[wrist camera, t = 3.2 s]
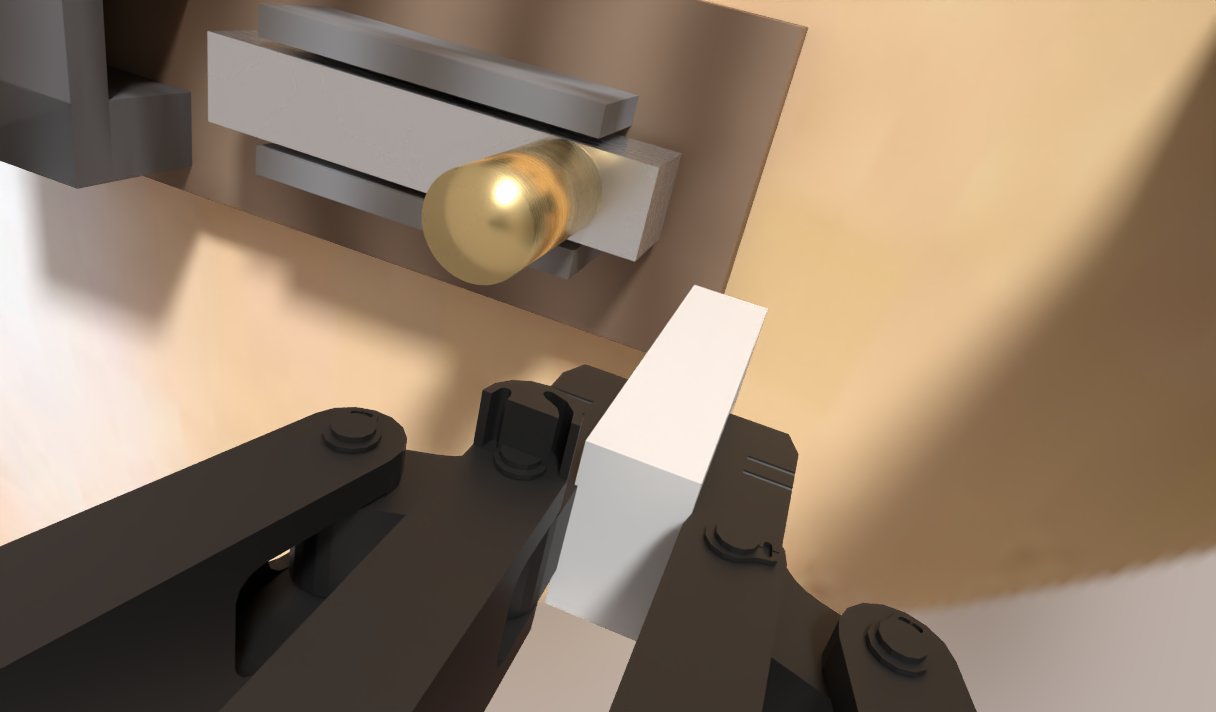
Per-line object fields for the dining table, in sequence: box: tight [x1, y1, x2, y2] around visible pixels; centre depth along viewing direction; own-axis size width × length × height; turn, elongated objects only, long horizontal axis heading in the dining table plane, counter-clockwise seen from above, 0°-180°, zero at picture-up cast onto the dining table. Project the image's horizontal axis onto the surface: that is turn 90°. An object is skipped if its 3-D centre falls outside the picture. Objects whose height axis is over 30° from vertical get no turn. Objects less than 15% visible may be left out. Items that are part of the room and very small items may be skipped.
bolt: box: [207, 31, 682, 285], centre depth 24 cm, size 16×3×8 cm, turn 74°
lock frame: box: [0, 0, 808, 353], centre depth 28 cm, size 30×12×7 cm, turn 74°
